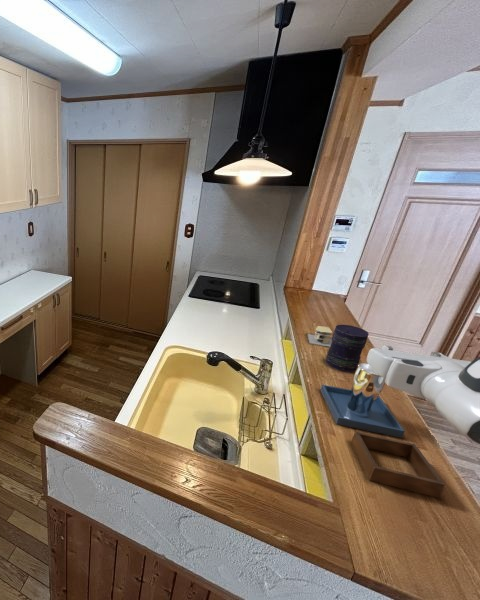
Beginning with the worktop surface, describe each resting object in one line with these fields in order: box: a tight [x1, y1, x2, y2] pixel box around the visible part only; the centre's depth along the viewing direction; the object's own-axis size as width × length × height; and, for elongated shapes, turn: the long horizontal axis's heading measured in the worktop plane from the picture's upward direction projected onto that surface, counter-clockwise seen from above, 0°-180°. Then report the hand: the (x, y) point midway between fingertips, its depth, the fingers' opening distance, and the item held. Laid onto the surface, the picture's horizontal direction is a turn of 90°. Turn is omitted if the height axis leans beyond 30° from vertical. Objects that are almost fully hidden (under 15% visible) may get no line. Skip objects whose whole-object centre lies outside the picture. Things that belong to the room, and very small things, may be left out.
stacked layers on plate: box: [306, 325, 333, 348], centre depth 142 cm, size 10×9×6 cm
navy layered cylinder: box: [324, 324, 369, 373], centre depth 122 cm, size 10×10×15 cm
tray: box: [320, 384, 406, 439], centre depth 99 cm, size 15×17×2 cm
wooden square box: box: [350, 431, 446, 498], centre depth 80 cm, size 13×13×4 cm
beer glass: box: [345, 362, 386, 417], centre depth 97 cm, size 7×7×15 cm
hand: (409, 351), depth 79 cm, fingers open, 8 cm apart
